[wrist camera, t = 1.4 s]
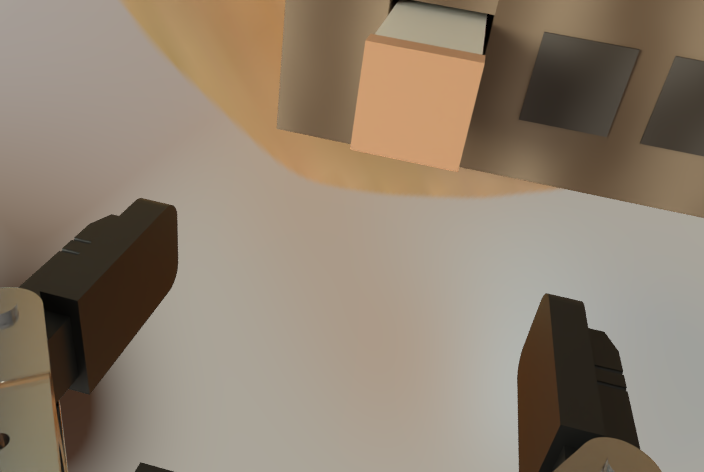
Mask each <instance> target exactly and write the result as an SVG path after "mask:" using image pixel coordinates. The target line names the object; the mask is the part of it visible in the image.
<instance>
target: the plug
mask: <svg viewBox="0 0 704 472" xmlns="http://www.w3.org/2000/svg"><path fill="white" fill-rule="evenodd" d="M486 20H487V14H486V13H481V12H475V11H470V10H464V9H459V8H453V7H448V6H442V5H437V4H431V3H426V2H420V1H415V0H399V1H398V2H397V4H396V5H395V6H394V8H393V9H392V11H391V12H390V13H389V15H388V16H387V18H386V19H385V20H384V22H383V23H382V25H381V26H380V27H379V29H378V30H377V32H376V33H375V34H370V35H369V36H368V38H367V39H366V40H365V47H364V54H363V61H362V68H361V75H360V82H359V89H358V96H357V103H356V111H355V118H354V125H353V132H352V139H351V146H350V150H355V151H360V152H364V153H369V154H374V155H379V156H383V157H388V158H393V159H398V160H402V161H407V162H412V163H417V164H421V165H426V166H431V167H436V168H440V169H445V170H450V171H455V172H458V169H459V165H460V161H461V157H462V153H463V149H464V145H465V141H466V137H467V133H468V129H469V125H470V121H471V117H472V113H473V109H474V105H475V101H476V97H477V93H478V89H479V85H480V80H481V76H482V72H483V68H484V64H485V56H486V55H482V54H483V45H484V37H485V28H486Z"/></svg>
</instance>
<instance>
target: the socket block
mask: <svg viewBox="0 0 704 472" xmlns="http://www.w3.org/2000/svg"><path fill="white" fill-rule="evenodd" d="M398 1H399V0H286V4H285V18H284V32H283V46H282V60H281V74H280V89H279V103H278V117H277V129H281V130H286V131H290V132H295V133H300V134H305V135H310V136H314V137H319V138H324V139H329V140H333V141H338V142H343V143H348V144H351V139H352V132H353V125H354V118H355V111H356V103H357V96H358V89H359V82H360V75H361V68H362V61H363V54H364V47H365V40H366V39H367V38H368V36H369V35H370V34H375V33H376V32H377V30H378V29H379V27H380V26H381V25H382V23H383V22H384V20H385V19H386V18H387V16H388V15H389V13H390V12H391V11H392V9H393V8H394V6H395V5H396V4H397V2H398ZM415 1H420V2H426V3H431V4H437V5H442V6H448V7H453V8H459V9H464V10H470V11H475V12H481V13H486V14H491V15H490V19H489V23H488V27H487V32H486V36H485V40H484V45H483V54H482V55H486V56H485V64H484V68H483V72H482V76H481V80H480V85H479V89H478V93H477V97H476V101H475V105H474V109H473V113H472V117H471V121H470V125H469V129H468V133H467V137H466V141H465V145H464V149H463V153H462V157H461V161H460V165H459V167H463V168H467V169H472V170H477V171H482V172H487V173H491V174H496V175H501V176H506V177H510V178H515V179H520V180H525V181H530V182H534V183H539V184H544V185H549V186H553V187H558V188H563V189H568V190H573V191H578V192H582V193H587V194H592V195H597V196H602V197H607V198H612V199H616V200H620V201H625V202H630V203H635V204H640V205H644V206H649V207H654V208H659V209H664V210H669V211H673V212H678V213H683V214H688V215H693V216H697V217H702V218H704V0H415Z"/></svg>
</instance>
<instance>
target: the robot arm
mask: <svg viewBox="0 0 704 472" xmlns="http://www.w3.org/2000/svg"><path fill="white" fill-rule="evenodd" d="M177 234H178V233H177V211H176V208H175V207H174V206H173V205H169V204H164V203H160V202H156V201H151V200H147V199H143V198H139V199H137V200H136V201H135V202H134V203H133V204H132V205H131V206H129V207H128V208H127V209H126V210H125V211H124V212H123V213H122V214H121V215H120V216H116V215H109V216H107V217H104V218H102V219H100V220H98V221H96V222H93V223H91V224H89V225H88V226H87V227H86V228H85V229H83V230H82V231H81V232H80V233H79V234H78V235H77V236H76V237H75V239H74V240H71V241H70V242H69V243H68V244H67V245H66V246H64V247H63V249H62V251H59V252H58V253H57V254H56V255H54V256H53V257H52V258H51V259H50V260H49V261H48V262H47V263H45V264H44V265H43V266H42V267H41V268H40V269H39V270H38V271H36V272H35V273H34V274H33V275H32V276H31V277H30V278H29V279H28V280H26V281H25V282H24V283H23V284H22V285H21V286H20V287H19V288H15V287H10V288H9V287H6V288H0V472H68V467H67V459H66V450H65V442H64V434H63V425H62V417H61V409H60V403H59V400H60V398H61V397H62V396H63V395H64V394H65V392H66V391H67V390H68V389H71V390H75V391H79V392H82V393H86V394H91V392H92V391H93V390H94V388H95V387H96V386H97V384H98V383H99V382H100V381H101V379H102V378H103V377H104V375H105V374H106V373H107V371H108V370H109V369H110V368H111V366H112V365H113V364H114V362H115V361H116V360H117V358H118V357H119V356H120V355H121V353H122V352H123V351H124V349H125V348H126V347H127V345H128V344H129V343H130V342H131V340H132V339H133V338H134V336H135V335H136V334H137V332H138V331H139V330H140V329H141V327H142V326H143V325H144V323H145V322H146V321H147V319H148V318H149V317H150V316H151V314H152V313H153V312H154V310H155V309H156V308H157V306H158V305H159V304H160V303H161V301H162V300H163V299H164V297H165V296H166V295H167V293H168V292H169V291H170V289H171V287H172V285H173V283H174V280H175V278H176V274H177V269H178V235H177ZM622 373H623V369H622V365H621V360H620V356H619V351H618V350H617V349H616V348H615V346H614V345H613V343H612V342H611V340H610V339H609V338H608V336H607V335H606V334H605V332H602V331H598V330H593V329H590V328H588V324H587V318H586V312H585V307H584V304H583V302H582V301H577V300H573V299H569V298H564V297H560V296H556V295H551V294H545V295H544V296H543V298H542V300H541V302H540V305H539V307H538V310H537V313H536V315H535V318H534V320H533V323H532V326H531V328H530V331H529V334H528V336H527V339H526V342H525V344H524V347H523V349H522V353H521V356H520V361H519V366H518V375H517V384H518V385H517V386H518V436H519V437H518V440H519V441H518V442H519V472H661V470H660V469H659V467H658V466H657V465H656V463H655V462H654V461H653V460H652V459H651V458H650V457H649V456H648V455H646V454H645V453H644V452H643V451H641V450H640V446H639V442H638V437H637V433H636V428H635V423H634V419H633V415H632V410H631V405H630V401H629V397H628V392H627V391H626V388H627V387H626V383H625V378H624V375H622ZM135 472H173V471H169V470H166V469H162V468H158V467H155V466H151V465H148V464H144V463H140V464H139V466H138V467H137V469H136V471H135Z"/></svg>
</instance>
